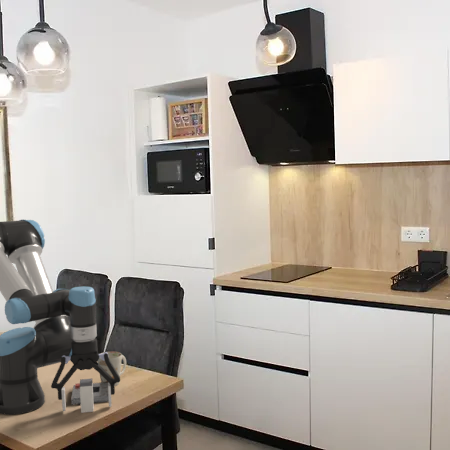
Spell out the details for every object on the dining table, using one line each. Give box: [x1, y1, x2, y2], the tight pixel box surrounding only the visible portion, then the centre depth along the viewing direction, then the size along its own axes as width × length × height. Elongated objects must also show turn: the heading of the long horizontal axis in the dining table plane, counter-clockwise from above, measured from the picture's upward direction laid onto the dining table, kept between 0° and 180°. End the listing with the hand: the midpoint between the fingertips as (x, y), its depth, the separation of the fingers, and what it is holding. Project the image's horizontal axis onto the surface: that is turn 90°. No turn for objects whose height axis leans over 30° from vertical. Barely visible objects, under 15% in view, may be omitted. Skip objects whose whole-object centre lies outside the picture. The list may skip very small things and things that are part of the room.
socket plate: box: [70, 382, 109, 406], centre depth 187 cm, size 12×12×3 cm
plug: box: [79, 378, 95, 414], centre depth 176 cm, size 4×4×9 cm
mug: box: [97, 351, 127, 387], centre depth 199 cm, size 8×13×10 cm, turn 152°
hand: (87, 407), depth 176 cm, fingers open, 13 cm apart
